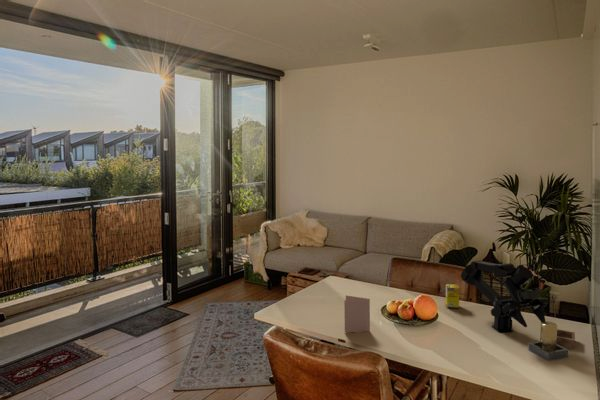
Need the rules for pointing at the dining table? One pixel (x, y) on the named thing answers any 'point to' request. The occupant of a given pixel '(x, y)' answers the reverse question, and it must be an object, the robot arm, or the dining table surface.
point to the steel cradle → (546, 355)
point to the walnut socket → (566, 338)
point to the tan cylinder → (548, 336)
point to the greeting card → (357, 314)
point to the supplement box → (452, 296)
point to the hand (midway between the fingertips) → (535, 325)
